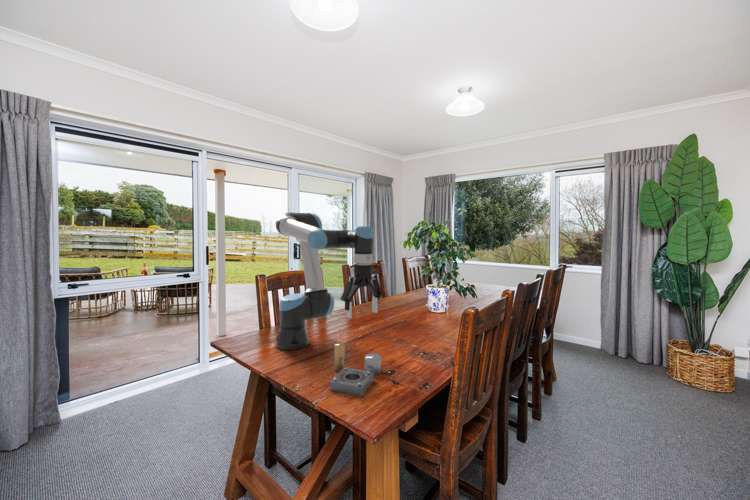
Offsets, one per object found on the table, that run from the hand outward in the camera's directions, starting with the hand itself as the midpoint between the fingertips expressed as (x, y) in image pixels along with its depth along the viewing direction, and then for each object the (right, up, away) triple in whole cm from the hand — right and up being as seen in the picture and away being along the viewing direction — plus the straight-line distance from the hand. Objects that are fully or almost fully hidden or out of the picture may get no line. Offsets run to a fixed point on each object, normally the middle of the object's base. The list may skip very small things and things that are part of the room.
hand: (362, 315), depth 133 cm
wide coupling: (+4, -21, -7) cm, 22 cm away
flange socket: (-3, -21, -19) cm, 28 cm away
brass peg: (-9, -20, -6) cm, 23 cm away
